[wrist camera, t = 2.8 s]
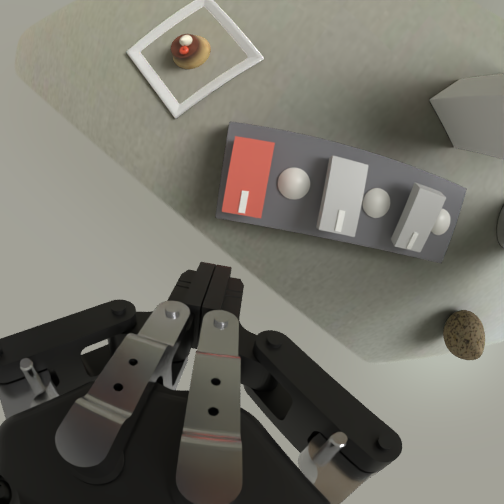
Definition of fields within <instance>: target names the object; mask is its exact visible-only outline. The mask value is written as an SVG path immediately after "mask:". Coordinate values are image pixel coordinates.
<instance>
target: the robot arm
mask: <svg viewBox="0 0 504 504" xmlns="http://www.w3.org/2000/svg"><path fill="white" fill-rule="evenodd" d="M497 237H498V241H499V243H500V245H501V246H502V247H503V248H504V206H503V208H502V210H501V213H500V215H499V219H498V225H497ZM230 274H231V267H227V266H221V265H215V264H210V263H204V262H201V263H200V265H199V267H198V269H197V271H193V270H187V271H186V272H184V273H182V274H181V276H180V278H179V280H178V282H177V284H176V286H175V287H174V289H173V291H172V293H171V295H170V297H169V299H168V301H165V302H162V303H160V304H159V305H158V306H157V307H156V308H155V310H154V311H152V312H136V309H135V306H134V305H133V304H132V303H131V302H129V301H126V300H114V301H111V302H107V303H104V304H101V305H98V306H95V307H93V308H89V309H86V310H84V311H81V312H78V313H75V314H72V315H69V316H66V317H63V318H60V319H57V320H54V321H51V322H48V323H45V324H42V325H40V326H37V327H34V328H31V329H28V330H25V331H22V332H19V333H16V334H13V335H10V336H7V337H4V338H1V339H0V400H1V404H2V407H3V410H4V414H5V417H6V420H5V421H4V422H3V423H2V424H1V426H0V504H340V503H341V502H342V501H344V500H345V499H346V498H347V497H348V496H349V495H350V494H352V492H354V491H355V490H356V489H357V488H358V487H359V486H360V485H361V484H362V483H363V482H365V481H366V480H367V479H369V478H371V477H372V476H373V475H375V474H376V473H378V472H379V471H380V470H382V469H383V468H384V467H386V466H387V465H389V464H390V463H391V462H392V461H394V460H395V459H396V458H397V457H398V456H399V455H400V453H401V451H402V442H401V439H400V437H399V435H398V434H397V433H396V432H395V431H394V430H392V429H391V428H390V427H389V426H388V425H386V424H385V423H384V422H383V421H382V420H380V419H379V418H378V417H377V416H376V415H375V414H373V413H372V412H371V411H370V410H369V409H367V408H366V407H365V406H364V405H363V404H362V403H361V402H359V401H358V400H357V399H356V398H355V397H354V396H352V395H351V394H350V393H349V392H348V391H347V390H346V389H344V388H343V387H342V386H341V385H340V384H339V383H338V382H337V381H335V380H334V379H333V378H332V377H331V376H330V375H329V374H328V373H326V372H325V371H324V370H323V369H322V368H321V367H320V366H319V365H318V364H317V363H315V362H314V361H313V360H312V359H311V358H310V357H309V356H307V354H306V353H304V352H303V351H302V350H301V349H300V348H299V347H298V346H297V345H296V344H295V343H294V342H292V341H291V340H290V339H289V338H288V337H287V336H286V335H284V334H283V333H280V332H277V331H272V330H270V331H269V330H268V331H263V332H261V333H259V334H258V335H255V334H253V333H251V332H249V331H247V330H246V329H244V328H243V327H242V325H241V324H240V321H239V315H240V308H241V301H242V295H243V288H244V285H243V283H242V281H241V279H237V278H231V277H230ZM105 339H108V345H105V346H103V347H101V348H98V349H96V350H93V351H90V352H88V353H85V354H83V355H81V351H82V350H83V349H84V348H85V347H87V346H90V345H92V344H95V343H97V342H100V341H102V340H105ZM197 347H198V350H197V351H196V355H195V360H194V365H193V371H192V378H191V383H190V389H189V391H178V390H177V391H176V387H177V385H178V383H179V380H180V378H181V375H182V373H183V371H184V368H185V366H186V364H187V361H188V355H189V352H190V349H191V348H195V349H197ZM240 383H241V384H243V385H244V389H245V391H246V392H247V394H248V395H249V396H250V397H251V398H252V400H253V401H254V402H255V403H256V404H257V406H258V407H259V408H260V409H261V410H262V411H263V413H265V415H266V416H267V417H268V418H269V419H270V420H271V422H272V423H273V424H274V425H275V426H276V427H277V428H278V429H279V431H280V432H281V433H282V434H283V435H284V436H285V437H286V438H287V439H288V440H289V441H290V443H291V444H292V445H293V446H294V447H295V448H296V449H297V450H298V451H299V452H300V455H299V458H298V464H299V467H300V469H301V471H302V472H303V473H304V474H303V473H302V472H301V471H300V469H299V468H298V467H297V466H296V465H295V464H294V463H293V461H291V459H290V458H289V457H288V456H287V455H286V454H285V452H284V451H283V450H282V449H281V447H280V446H279V445H278V444H277V443H276V442H275V440H274V439H273V438H272V437H271V435H270V434H269V433H268V432H267V430H266V429H265V428H264V427H263V425H262V424H261V423H260V422H259V421H258V420H257V419H256V418H255V417H254V416H252V415H251V414H250V413H249V412H247V411H246V410H244V409H242V408H240Z"/></svg>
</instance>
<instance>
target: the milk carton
mask: <svg viewBox="0 0 504 504" xmlns="http://www.w3.org/2000/svg"><path fill="white" fill-rule="evenodd" d="M430 102H431V104H432V106H433V108H434V109H435V111H436V113H437V115H438V117H439V119H440V120H441V122H442V124H443V126H444V128H445V130H446V132H447V134H448V136H449V138H450V140H451V142H452V144H453V146H454V148H458V149H463V150H467V151H472V152H476V153H480V154H485V155H488V156H492V157H496V158H500V159H503V160H504V74H495V75H485V76H477V77H470V78H463V79H459V80H458V81H456V82H455V83H453V84H452V85H450V86H449V87H447V88H446V89H444V90H443V91H441V92H440V93H438V94H437V95H435V96H434V97H432V98H431V99H430Z"/></svg>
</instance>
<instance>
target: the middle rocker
mask: <svg viewBox="0 0 504 504" xmlns="http://www.w3.org/2000/svg"><path fill="white" fill-rule="evenodd" d="M367 172H368V165H366V164H363V163H359V162H356V161H352V160H348V159H345V158H341V157H337V156H331V157H329V162H328V168H327V174H326V180H325V185H324V190H323V196H322V201H321V206H320V211H319V216H318V221H317V226H316V228H317V229H319V230H323V231H328V232H333V233H337V234H342V235H347V236H352V237H355V233H356V229H357V224H358V220H359V215H360V210H361V205H362V200H363V194H364V189H365V183H366V178H367Z"/></svg>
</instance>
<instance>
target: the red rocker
mask: <svg viewBox="0 0 504 504" xmlns="http://www.w3.org/2000/svg"><path fill="white" fill-rule="evenodd" d="M274 145H275V143H273V142H268V141H262V140H256V139H250V138H244V137H237V136H235V140H234V145H233V150H232V156H231V161H230V166H229V172H228V178H227V183H226V189H225V195H224V201H223V207H222V212H227V213H233V214H239V215H244V216H250V217H255V218H261V216H262V211H263V205H264V200H265V194H266V189H267V183H268V178H269V172H270V167H271V161H272V156H273V150H274Z"/></svg>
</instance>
